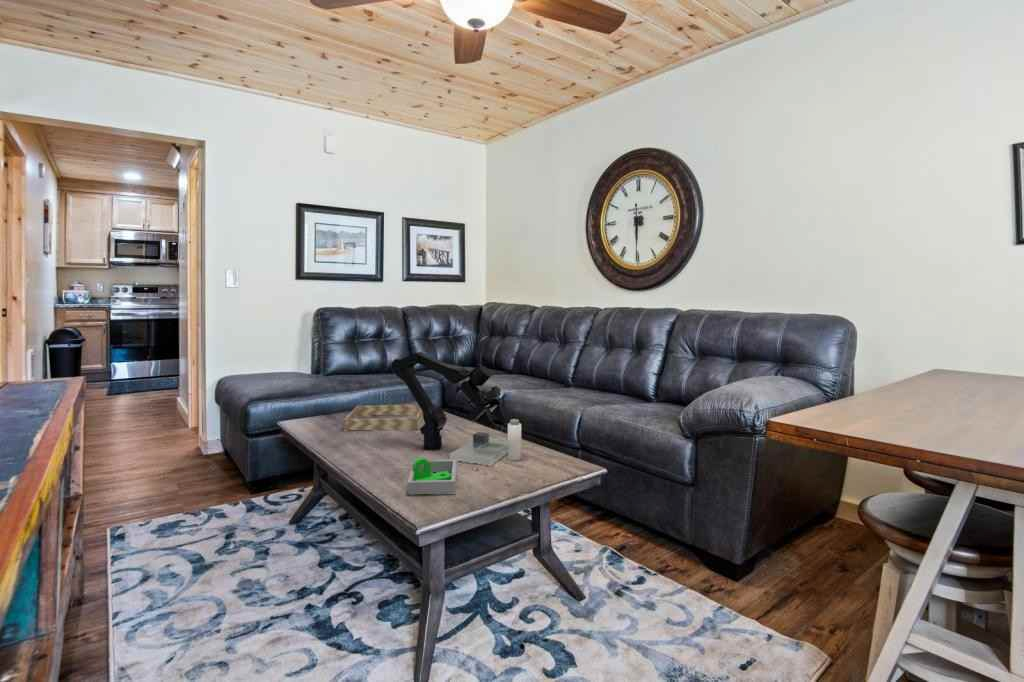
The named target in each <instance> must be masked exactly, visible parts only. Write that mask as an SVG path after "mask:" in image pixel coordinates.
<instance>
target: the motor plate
mask: <svg viewBox="0 0 1024 682" xmlns="http://www.w3.org/2000/svg"><path fill="white" fill-rule="evenodd" d="M507 453H508V441H505V440H504V441H503V440H495V439H494V440H493V439H490V432H489V433H488V432H480V431H476V432H475V433H473V434H472V440H470V441H468V442H467V443H466V444H464V445H462V446H460V447H459V448H457V449H456V450H453V451H452V452H450V453H449V460H457V462H458V461H462V462H461V463H465V462H469V463H468V464H472V463H477V464H476V465H479V464H482V465H481V466H486V465H488V466H487V467H492V466H493V465H495V464H496V463H498V462H499V461H500V460H502V459H503V458H504V457H505V456H506V454H507ZM507 455H508V454H507ZM503 456H504V457H503ZM502 457H503V458H502ZM499 459H500V460H499ZM498 460H499V461H498ZM495 462H496V463H495ZM491 465H492V466H491Z"/></svg>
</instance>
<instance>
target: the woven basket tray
mask: <svg viewBox="0 0 1024 682" xmlns="http://www.w3.org/2000/svg"><path fill="white" fill-rule="evenodd" d="M372 415H405V416H416V417H411V418H410V417H409V418H408V417H407V418H405V417H403V418H402V417H400V418H396V417H395V418H359V417H373V416H372ZM422 417H423V411H422V410H421V408H420V406H419V405H418V404H387V405H386V404H385V405H384V404H383V405H382V404H381V405H378V404H375V405H372V404H371V405H356V406H355V407H354V408H353V409H352V410H351V412H349V414H347V416H346V417H345V418H344V419H343V431H344V430H383V431H415V430H414V429H419V430H420V427H419V426H421V424H422V421H421V420H423V418H422ZM420 423H421V424H420ZM412 429H413V430H412Z"/></svg>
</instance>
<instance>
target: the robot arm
mask: <svg viewBox="0 0 1024 682" xmlns="http://www.w3.org/2000/svg"><path fill="white" fill-rule="evenodd" d="M416 365H420V366H423V367H425V368H427V369H429V370H432V371H433V372H436V373H439V374H440V375H441V376H443V379H445V380H446V381H448V382H449V383H451V384H453V385H456V384H457V385H456V386H455V387H456V389H455V394H460V393H461V392H462V394H463V395H464V396H465V397H466V398H467V400H468V401H467V402H468V404H469V405H471V404H472V405H473V407H474V408H473V410H472V411H471V412H470V413H469V414H468V417H469V419H470V420H471V421H472V422H476V423H478V424H482V425H483V426H487V427H488V428H491V429H493V430H496V429H497V428H498V427H497V425H496V424H495V421H493V419H492V418H491V416H492V417H493V418H496V419H497V420H498V421H500V422H501V423H503V424H506V423H507V422H508V420H507V419H506V417H505V415H504V412H503V410H502V409H503V408H502V405H503V399H502V398H501V396H502V393H501V391H502V389H501V388H499V387H498V386H497V385H494V386H492V387H491V388H490V390H489V391H487V392H486V390H484V389H483V390H481V388H480V387H483V386H484V385H485V384H486V383H487V382H488V381H489V380H490V378H492V376H493V373H492V371H491V370H490V369H489V368H488V367H487V366H484V365H483V364H482V363H481V362H480V363H477V364H476V366H475V367H474V368H473V369H472V370H468V369H466V368H465V367H464V366H460V365H455V364H448V363H446V362H443V361H441V360H439V359H437V358H435V357H433V356H431V355H428V354H425V353H424V352H423V351H416V352H413V353H412V354H410V355H407V356H405V357H401V358H396V359H393V360H392V361H391V366H390V367H391V370H392V372H393V373H394V375H395V376H397V378H399V379H400V380H402V381H403V382H404V384H405V385H406V386H407V388H408V390H409V391H410V393H411V394H412V397H413V398H414V400H415V401H416V404H417V405H419V406H420V408H421V410H422V411H423V418H422V420H423V422H424V424H423V425H422V426H421V428H420V427H419V431H420V434H421V435H423V450H424V451H425V450H428V449H431V450H440V449H441V448H442V447H443V446H442V445H443V440H442V437H443V435H442V434H441V431H443V429H444V427H445V426H446V425H447V414H446V413H445V412H444V410H443V408H442V406H438V407H437V406H435V405H434V403H433V402H432V400H431V399H430V397H429V395H428V394H427V392H426V390H425V389H424V387H423V386H422V384H421V383H420V381H419V379H418V377H417V376H416V371H415V370H416V368H415V366H416ZM467 379H468V380H467ZM460 383H461V384H460ZM459 384H460V385H459ZM490 415H491V416H490Z"/></svg>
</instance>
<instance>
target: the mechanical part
mask: <svg viewBox="0 0 1024 682" xmlns="http://www.w3.org/2000/svg"><path fill="white" fill-rule="evenodd" d="M422 464H424V469H423V470H422V471H419V470H418V469H419V466H420V465H422ZM411 466H412V467H411V469H412V470H413V471H414V476H415V481H431V480H451V477H452V473H451V472H447V471H443V472H438V473H431V466H430V463H429V461H427V459H426V458H424V457H419V458H417V459H415V460H413V463H412V465H411Z"/></svg>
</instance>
